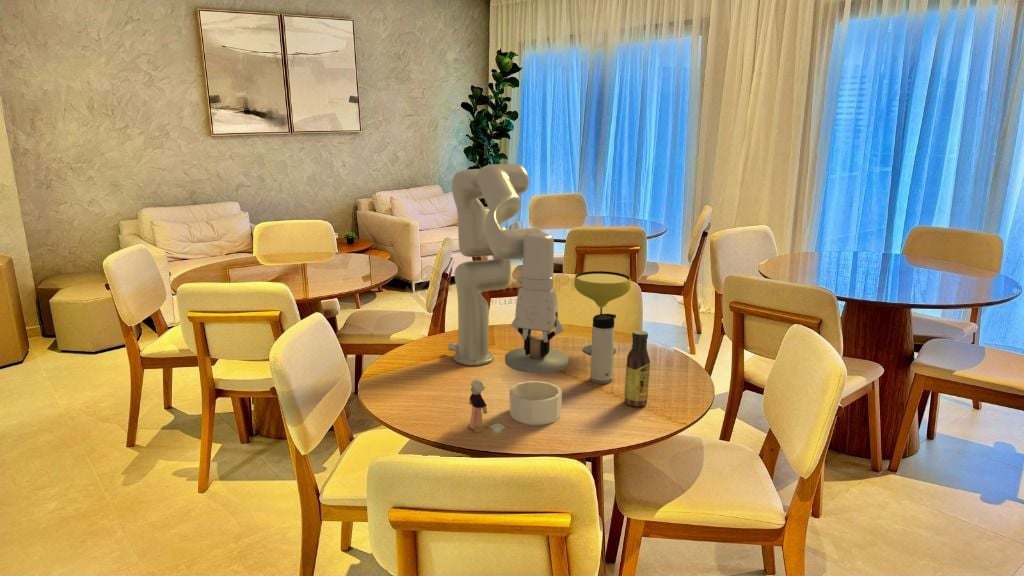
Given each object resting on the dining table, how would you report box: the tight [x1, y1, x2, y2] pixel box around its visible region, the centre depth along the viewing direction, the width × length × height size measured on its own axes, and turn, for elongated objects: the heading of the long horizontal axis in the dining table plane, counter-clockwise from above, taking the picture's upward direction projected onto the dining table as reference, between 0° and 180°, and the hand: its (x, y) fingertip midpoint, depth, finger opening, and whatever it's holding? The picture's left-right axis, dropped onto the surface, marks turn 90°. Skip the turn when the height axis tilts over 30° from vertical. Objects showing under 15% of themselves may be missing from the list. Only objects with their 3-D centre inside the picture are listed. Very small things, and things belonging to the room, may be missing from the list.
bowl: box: [509, 380, 563, 426], centre depth 171 cm, size 13×13×6 cm
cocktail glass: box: [573, 270, 632, 356], centre depth 217 cm, size 18×18×25 cm
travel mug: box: [590, 313, 617, 385], centre depth 192 cm, size 6×7×20 cm
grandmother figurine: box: [467, 379, 488, 433], centre depth 162 cm, size 8×4×13 cm, turn 45°
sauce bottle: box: [624, 330, 651, 408], centre depth 177 cm, size 7×6×20 cm
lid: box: [504, 335, 569, 374], centre depth 167 cm, size 16×16×6 cm
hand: (536, 353), depth 167 cm, fingers closed on lid, 3 cm apart
